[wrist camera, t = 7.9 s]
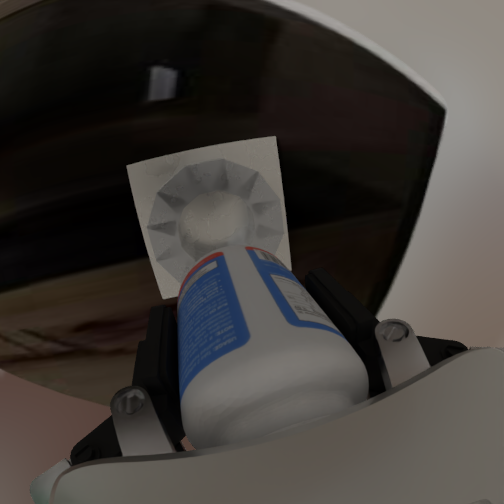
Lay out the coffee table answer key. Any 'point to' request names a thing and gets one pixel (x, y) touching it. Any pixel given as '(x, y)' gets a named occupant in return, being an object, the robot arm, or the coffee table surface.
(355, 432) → the robot arm
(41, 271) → the coffee table surface
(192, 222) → the ring socket
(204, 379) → the pill bottle
